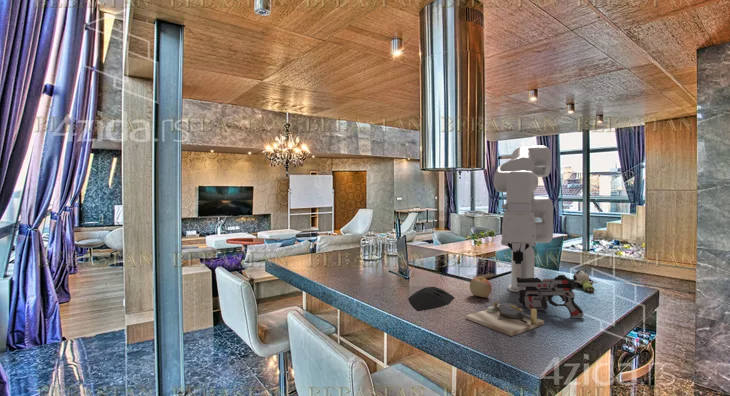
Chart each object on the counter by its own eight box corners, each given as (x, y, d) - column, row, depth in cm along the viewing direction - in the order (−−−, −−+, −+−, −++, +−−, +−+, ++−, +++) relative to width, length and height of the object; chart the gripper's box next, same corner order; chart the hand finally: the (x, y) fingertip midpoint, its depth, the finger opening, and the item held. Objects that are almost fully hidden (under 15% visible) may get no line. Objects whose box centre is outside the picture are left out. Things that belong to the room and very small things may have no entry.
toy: (579, 284, 156) (568, 267, 170) (577, 298, 159) (566, 280, 172) (605, 286, 154) (592, 268, 168) (603, 300, 156) (589, 281, 170)
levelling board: (498, 309, 136) (498, 298, 135) (543, 324, 120) (544, 312, 120) (466, 318, 126) (466, 306, 126) (511, 336, 111) (511, 322, 111)
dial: (494, 312, 127) (494, 298, 127) (511, 309, 130) (511, 296, 130) (526, 327, 114) (527, 311, 114) (544, 323, 117) (545, 308, 117)
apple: (476, 292, 157) (476, 274, 157) (495, 297, 151) (495, 278, 151) (465, 296, 151) (465, 278, 151) (485, 301, 145) (485, 282, 145)
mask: (395, 297, 137) (420, 279, 164) (395, 309, 137) (420, 289, 164) (440, 304, 129) (458, 284, 156) (440, 316, 129) (458, 294, 156)
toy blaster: (523, 313, 140) (516, 275, 141) (584, 316, 127) (576, 273, 128) (520, 316, 137) (513, 277, 138) (583, 319, 124) (574, 275, 125)
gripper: (495, 208, 116) (494, 264, 116) (545, 209, 112) (544, 267, 112) (493, 207, 123) (493, 259, 124) (541, 207, 119) (540, 262, 119)
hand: (517, 263), depth 118 cm, fingers closed
